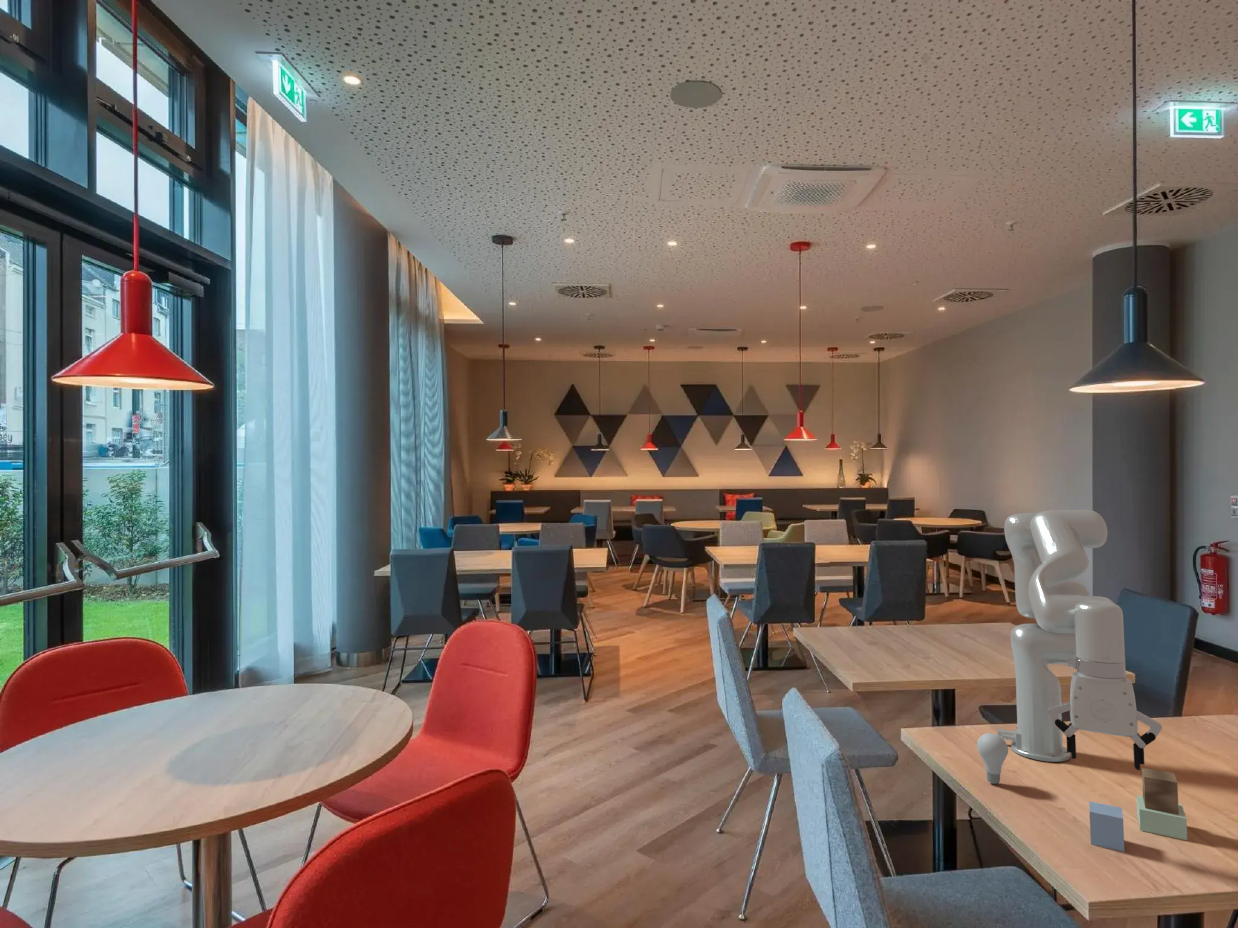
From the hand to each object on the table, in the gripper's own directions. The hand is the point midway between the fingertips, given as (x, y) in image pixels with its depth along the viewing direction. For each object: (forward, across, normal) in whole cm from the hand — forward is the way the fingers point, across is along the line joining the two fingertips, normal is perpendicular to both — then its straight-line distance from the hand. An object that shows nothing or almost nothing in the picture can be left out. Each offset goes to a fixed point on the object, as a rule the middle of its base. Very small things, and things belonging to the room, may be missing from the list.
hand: (1104, 761), depth 127 cm
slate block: (+15, 0, +1) cm, 15 cm away
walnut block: (+11, +9, +13) cm, 19 cm away
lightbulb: (+15, -20, +18) cm, 31 cm away
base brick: (+15, +9, +13) cm, 21 cm away
